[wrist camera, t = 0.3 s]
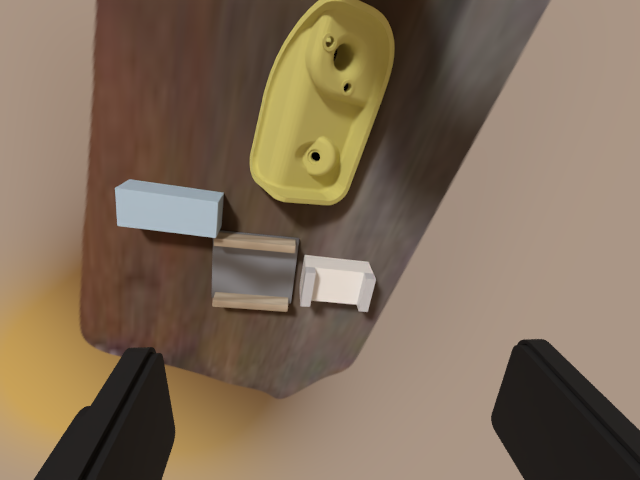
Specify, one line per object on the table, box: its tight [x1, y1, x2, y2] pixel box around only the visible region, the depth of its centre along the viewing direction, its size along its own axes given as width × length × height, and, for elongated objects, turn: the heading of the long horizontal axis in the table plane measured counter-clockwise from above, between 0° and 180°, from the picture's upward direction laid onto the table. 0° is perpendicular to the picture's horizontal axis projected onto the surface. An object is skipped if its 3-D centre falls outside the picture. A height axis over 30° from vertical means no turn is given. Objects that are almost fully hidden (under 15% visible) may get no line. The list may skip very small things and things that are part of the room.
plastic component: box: [250, 0, 395, 205], centre depth 38 cm, size 20×7×10 cm
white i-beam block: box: [300, 255, 376, 312], centre depth 47 cm, size 5×9×5 cm, turn 81°
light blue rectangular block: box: [115, 179, 224, 238], centre depth 42 cm, size 4×11×4 cm, turn 80°
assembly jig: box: [212, 230, 299, 312], centre depth 46 cm, size 10×11×3 cm
